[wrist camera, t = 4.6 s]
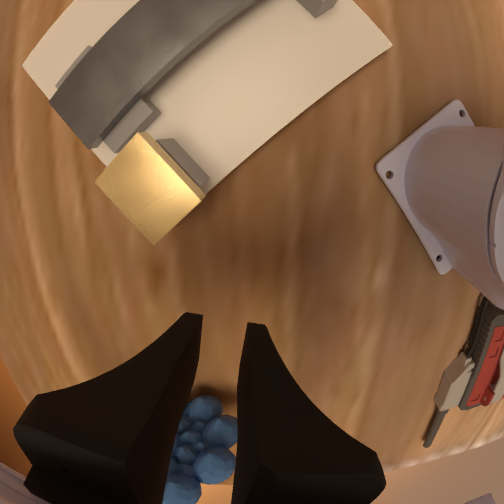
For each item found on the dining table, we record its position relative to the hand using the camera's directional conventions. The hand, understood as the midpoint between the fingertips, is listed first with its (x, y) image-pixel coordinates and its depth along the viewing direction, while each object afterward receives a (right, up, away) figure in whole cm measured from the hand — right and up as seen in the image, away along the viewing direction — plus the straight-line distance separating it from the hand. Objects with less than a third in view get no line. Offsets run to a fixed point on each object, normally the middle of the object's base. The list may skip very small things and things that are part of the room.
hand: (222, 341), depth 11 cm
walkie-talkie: (+23, -9, +13) cm, 28 cm away
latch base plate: (-3, +16, +4) cm, 16 cm away
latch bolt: (-3, +6, +3) cm, 8 cm away
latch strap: (-3, +15, +1) cm, 15 cm away
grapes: (-5, -10, +14) cm, 18 cm away
